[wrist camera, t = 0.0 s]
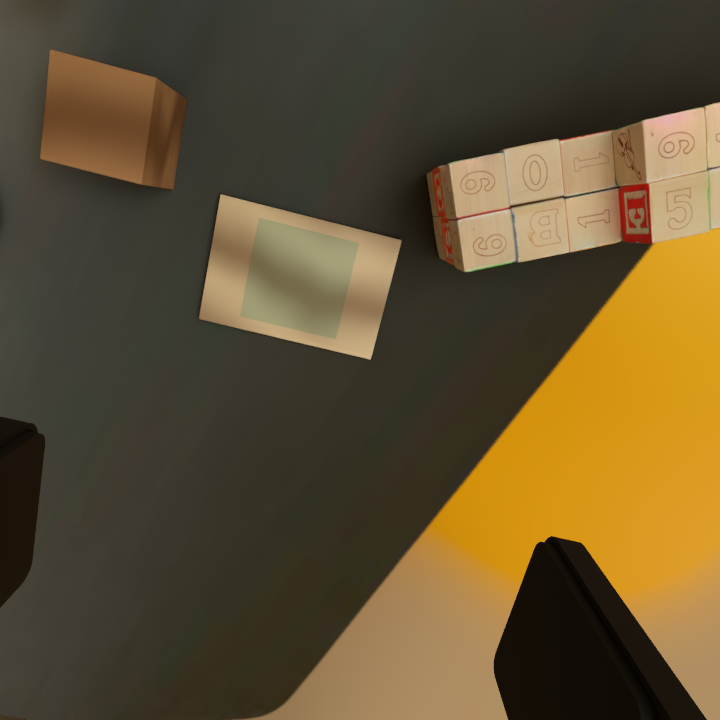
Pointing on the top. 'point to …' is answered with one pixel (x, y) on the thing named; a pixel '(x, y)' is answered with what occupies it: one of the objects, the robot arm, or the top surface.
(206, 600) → the top surface
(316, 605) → the top surface
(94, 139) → the teak cube
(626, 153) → the stack of blocks
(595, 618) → the robot arm
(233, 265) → the beige flat rectangular piece
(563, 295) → the top surface
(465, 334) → the top surface
